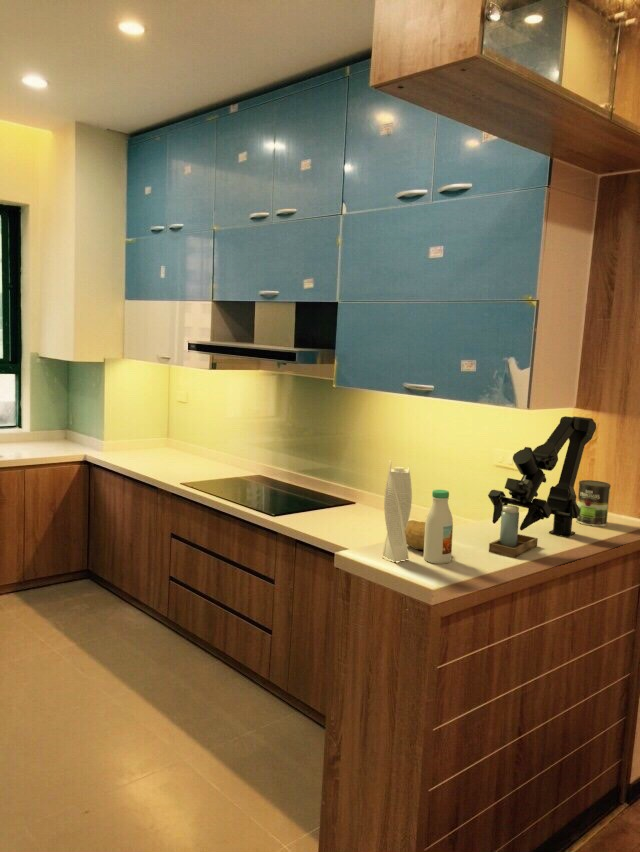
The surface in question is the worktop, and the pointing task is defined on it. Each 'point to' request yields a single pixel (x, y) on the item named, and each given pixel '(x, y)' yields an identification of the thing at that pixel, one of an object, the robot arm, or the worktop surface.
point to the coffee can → (593, 502)
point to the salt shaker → (509, 526)
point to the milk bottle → (438, 529)
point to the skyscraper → (397, 512)
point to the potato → (415, 534)
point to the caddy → (522, 546)
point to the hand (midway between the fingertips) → (506, 526)
